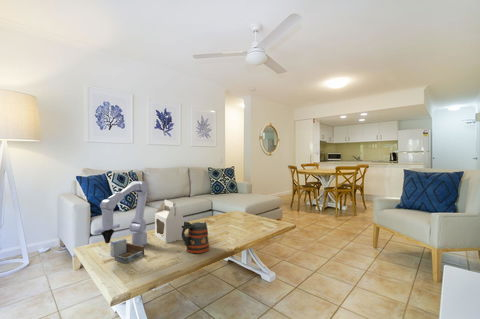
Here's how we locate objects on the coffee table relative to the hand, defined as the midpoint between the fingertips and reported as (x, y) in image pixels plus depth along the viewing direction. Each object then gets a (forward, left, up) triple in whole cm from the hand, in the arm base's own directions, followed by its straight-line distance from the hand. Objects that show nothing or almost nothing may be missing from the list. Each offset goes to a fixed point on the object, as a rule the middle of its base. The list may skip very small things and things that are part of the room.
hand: (107, 242), depth 133 cm
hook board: (-6, +5, -10) cm, 12 cm away
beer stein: (-32, +40, -10) cm, 52 cm away
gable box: (-45, +7, -10) cm, 47 cm away
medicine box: (-8, 0, -10) cm, 12 cm away
